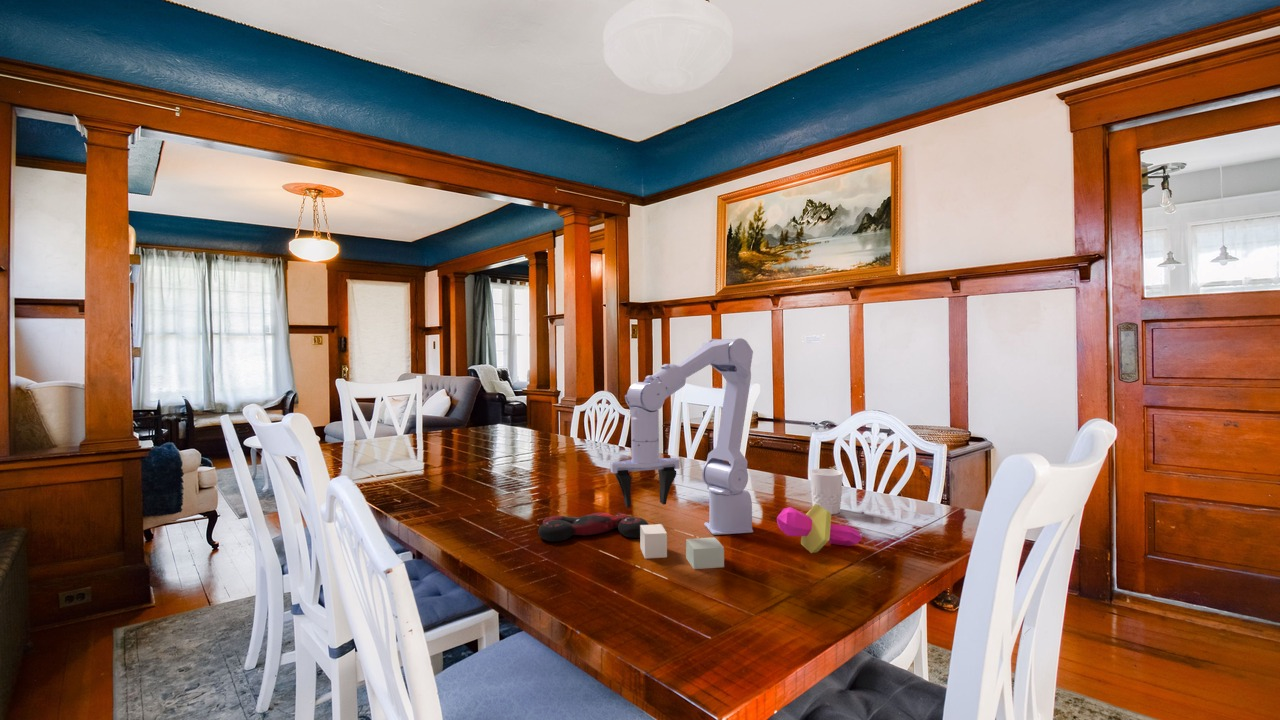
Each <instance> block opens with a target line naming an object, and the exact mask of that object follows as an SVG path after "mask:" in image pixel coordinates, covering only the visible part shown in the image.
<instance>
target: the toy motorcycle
mask: <svg viewBox="0 0 1280 720" xmlns="http://www.w3.org/2000/svg"><path fill="white" fill-rule="evenodd" d="M640 525H650V524H649V522H648V521H646V520H645V519H644V518H641V517H637V516H636V517H635V516H633V515H631V514H626V513H623V512H616V514H615V515H612V514H610V513H608V512H593V513H590V514H587V515H582V516H579V517H576V516H565V515H552V516H549V517H545V519H543V521H542V524H541V525H540V526H539V528H538V536H539V537H540V538H541V539H542V540H543V541H546V542H552V543H553V542H554V543H555V542H562V541H566V540H568V539H570V538H571V537H573V536H586V537H587V536H593V535H601V534H604V533H606V532H610V531H612V530H615V529H618V532H619V533H620V534H621V535H622V536H624V537H627V538H630V539H639V538H640Z"/></svg>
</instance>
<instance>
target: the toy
mask: <svg viewBox="0 0 1280 720" xmlns="http://www.w3.org/2000/svg"><path fill="white" fill-rule="evenodd" d="M776 522H777V527H778V528H779V529H780V530H781V531H782V533H783V534H785V535H786V536H787V537H801V539H800V544H801V546H802V547H804V548H805V549H806V550H807V551H808V552H809V553H810V554H814V553H818V552H819V551H821V549H823V547H824V546H825V545H826V544H827V543H829V544H833V545H839V546H846V547H847V546H848V547H849V546H854V545H855V546H856V545H857V544H859V542H860V541H861V540H863V537H862V536H861V534H860V532H859V531H858V530H857V529H856V528H854V527H851V526H849V525H841V524H835V523H832V514H831V513H829V512H828V511H827V510H825V509H824V508H822V507H821V506H819V505H818V504H815V505H814V506H813V505H812V507H811V508H810V509H809V510H808V512H806V513H803V512H802V511H799V510H798V509H795V508H794V507H793V506H789V507H788V506H787V507H785V508H782V510H781V512H779V514H778V516H777V517H776Z"/></svg>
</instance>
